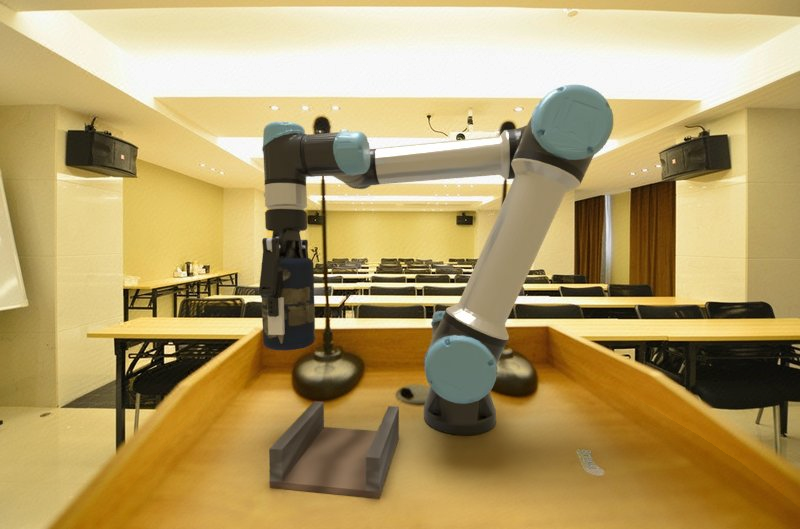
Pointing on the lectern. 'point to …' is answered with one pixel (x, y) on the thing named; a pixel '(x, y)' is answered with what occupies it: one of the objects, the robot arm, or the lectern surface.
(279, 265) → the canister
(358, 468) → the holder
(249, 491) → the lectern surface
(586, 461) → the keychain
